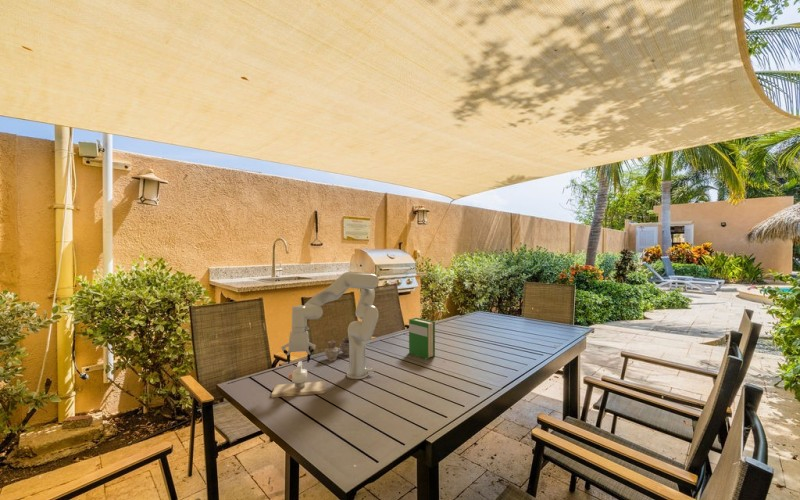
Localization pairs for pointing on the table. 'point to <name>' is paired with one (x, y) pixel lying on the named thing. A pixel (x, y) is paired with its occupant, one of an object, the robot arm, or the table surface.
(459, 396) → the table surface
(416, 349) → the hardback book
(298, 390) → the post base
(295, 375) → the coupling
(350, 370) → the robot arm
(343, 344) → the pottery
